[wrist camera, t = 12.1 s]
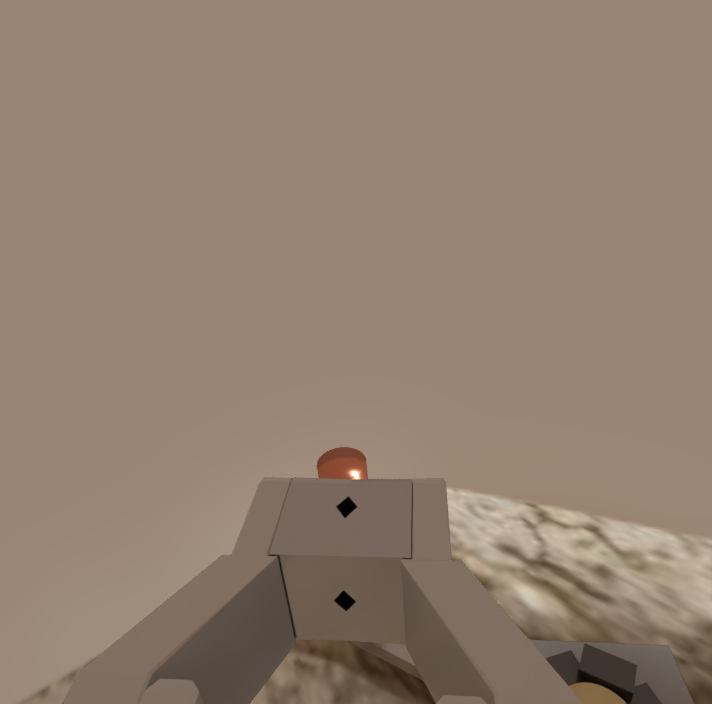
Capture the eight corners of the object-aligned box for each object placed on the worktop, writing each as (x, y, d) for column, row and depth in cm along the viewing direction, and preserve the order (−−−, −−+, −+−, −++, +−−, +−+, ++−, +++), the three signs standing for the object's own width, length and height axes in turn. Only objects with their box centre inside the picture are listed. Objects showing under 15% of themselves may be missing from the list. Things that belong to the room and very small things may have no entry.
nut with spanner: (684, 721, 31) (757, 525, 23) (675, 903, 24) (773, 711, 17) (375, 582, 41) (359, 415, 34) (310, 684, 34) (273, 505, 27)
